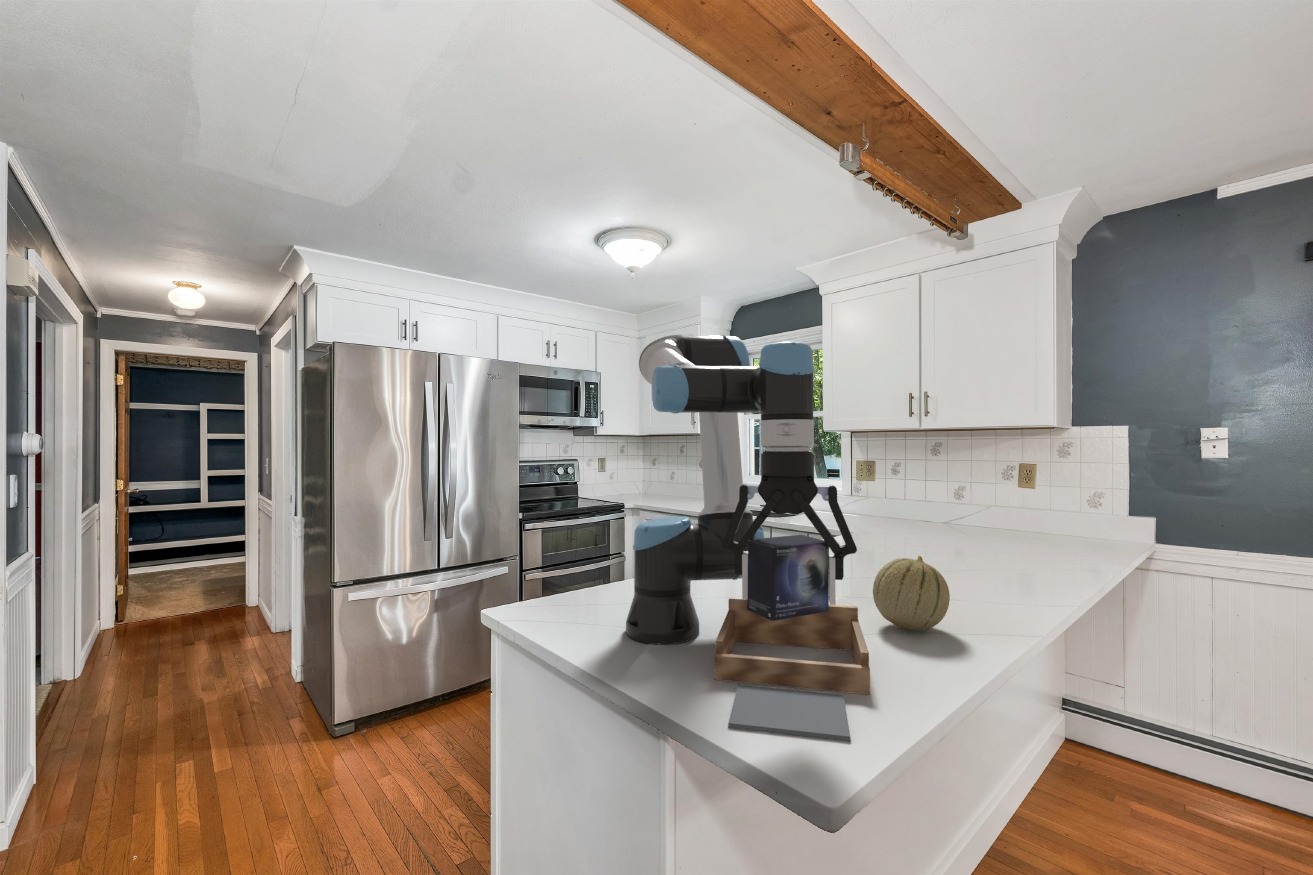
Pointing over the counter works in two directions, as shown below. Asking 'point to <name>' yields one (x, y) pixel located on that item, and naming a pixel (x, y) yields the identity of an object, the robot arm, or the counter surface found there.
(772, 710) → the mat
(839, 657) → the counter surface
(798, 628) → the open wooden tray
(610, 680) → the counter surface
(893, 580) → the cantaloupe
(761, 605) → the small box
